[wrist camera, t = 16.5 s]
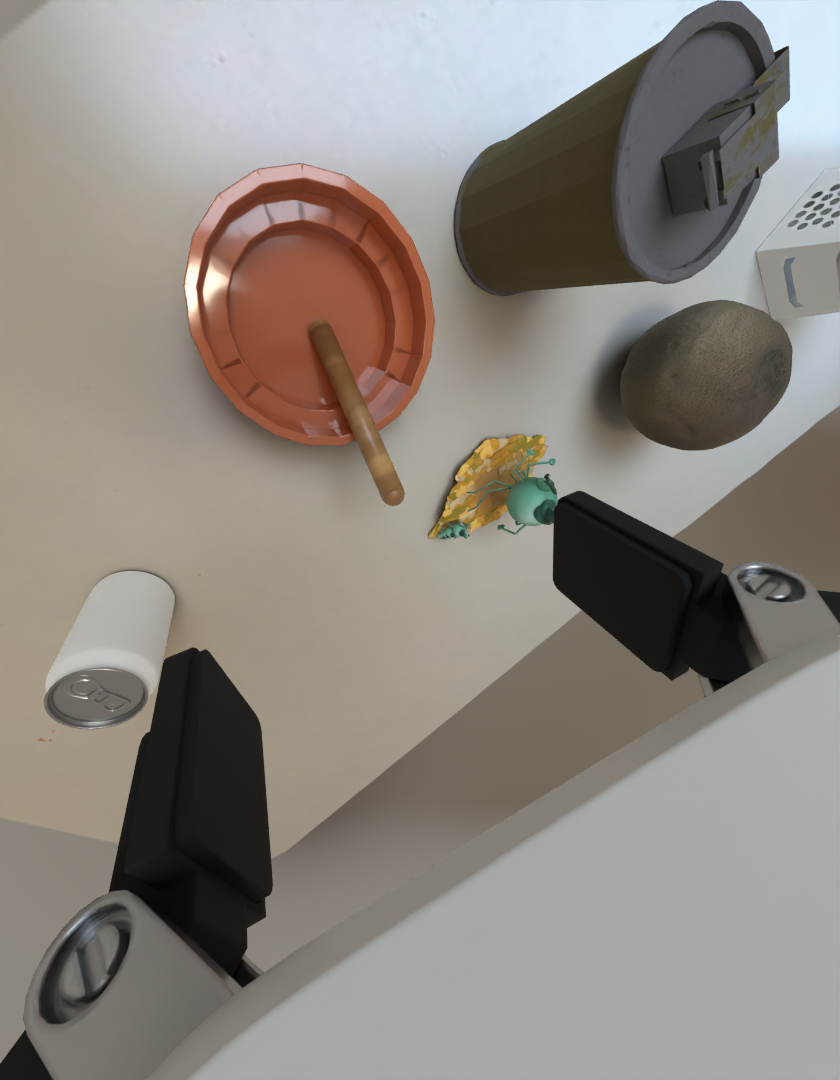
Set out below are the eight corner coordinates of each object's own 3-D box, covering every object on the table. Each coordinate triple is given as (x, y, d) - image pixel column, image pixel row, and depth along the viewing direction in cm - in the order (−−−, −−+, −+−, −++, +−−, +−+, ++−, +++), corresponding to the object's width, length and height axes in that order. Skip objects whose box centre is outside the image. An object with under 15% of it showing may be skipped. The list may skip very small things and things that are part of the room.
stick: (308, 313, 29) (392, 503, 29) (330, 313, 30) (412, 497, 30) (303, 329, 31) (382, 511, 30) (324, 329, 32) (401, 505, 31)
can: (136, 555, 35) (98, 647, 25) (191, 599, 38) (176, 694, 29) (71, 596, 34) (6, 706, 24) (133, 637, 38) (98, 746, 28)
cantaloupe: (684, 281, 43) (858, 268, 31) (674, 404, 51) (808, 431, 39) (580, 328, 41) (723, 334, 29) (586, 449, 49) (700, 493, 37)
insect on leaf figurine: (399, 490, 42) (480, 545, 30) (524, 401, 45) (643, 419, 33) (434, 552, 47) (514, 619, 35) (543, 469, 50) (650, 505, 38)
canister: (493, 322, 37) (689, 327, 21) (429, 206, 31) (639, 89, 15) (577, 236, 36) (847, 173, 20) (529, 100, 30) (863, -143, 14)
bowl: (145, 211, 25) (123, 186, 20) (381, 175, 29) (410, 147, 24) (251, 450, 34) (253, 472, 29) (420, 400, 38) (447, 412, 33)
